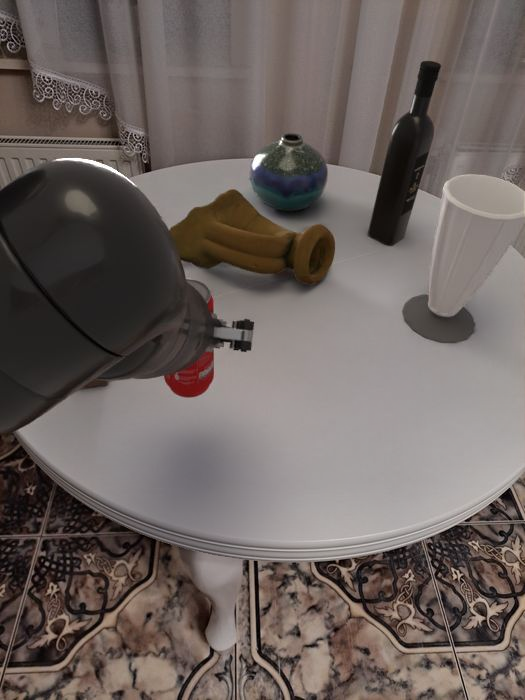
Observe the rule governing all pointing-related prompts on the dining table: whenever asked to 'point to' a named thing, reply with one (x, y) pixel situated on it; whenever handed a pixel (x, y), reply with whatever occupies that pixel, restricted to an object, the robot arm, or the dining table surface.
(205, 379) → the beverage can
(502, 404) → the dining table surface
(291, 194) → the vase
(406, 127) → the wine bottle
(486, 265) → the cup
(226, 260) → the brown looped sculpture
